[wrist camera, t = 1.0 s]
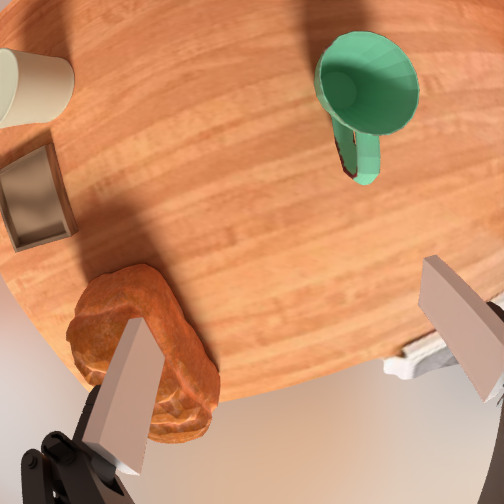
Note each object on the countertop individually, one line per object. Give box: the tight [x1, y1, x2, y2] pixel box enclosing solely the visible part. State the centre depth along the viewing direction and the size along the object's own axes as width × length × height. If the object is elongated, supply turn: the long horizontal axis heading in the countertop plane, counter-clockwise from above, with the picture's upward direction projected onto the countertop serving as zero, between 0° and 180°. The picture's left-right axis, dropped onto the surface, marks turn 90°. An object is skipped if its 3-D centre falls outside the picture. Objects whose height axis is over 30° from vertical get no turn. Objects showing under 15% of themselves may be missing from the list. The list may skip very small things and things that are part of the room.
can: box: [0, 48, 74, 128], centre depth 21 cm, size 9×9×12 cm
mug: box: [314, 31, 420, 185], centre depth 25 cm, size 15×10×10 cm
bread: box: [66, 263, 220, 443], centre depth 36 cm, size 14×26×16 cm, turn 17°
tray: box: [0, 143, 78, 253], centre depth 31 cm, size 13×13×2 cm
